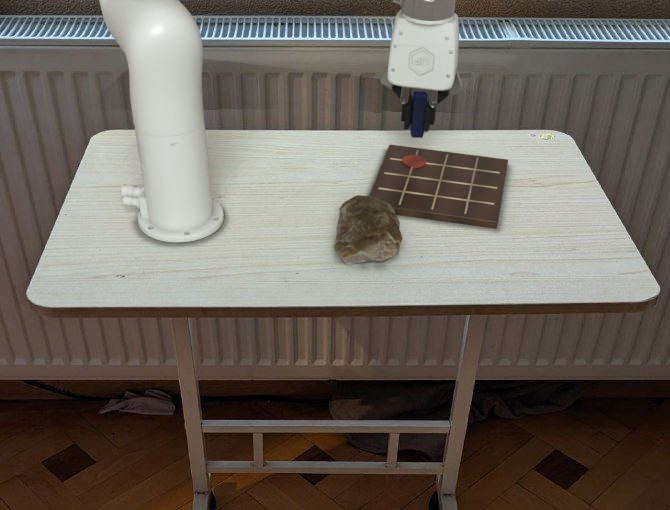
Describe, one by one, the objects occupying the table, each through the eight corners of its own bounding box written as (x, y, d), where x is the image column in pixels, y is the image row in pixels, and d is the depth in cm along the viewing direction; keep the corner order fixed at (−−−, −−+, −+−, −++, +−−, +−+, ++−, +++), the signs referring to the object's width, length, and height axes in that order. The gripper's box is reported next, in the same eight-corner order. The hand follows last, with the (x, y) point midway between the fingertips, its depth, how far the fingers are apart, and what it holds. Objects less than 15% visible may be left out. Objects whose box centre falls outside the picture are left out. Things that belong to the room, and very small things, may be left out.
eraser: (409, 131, 134) (413, 90, 129) (423, 132, 134) (427, 90, 129) (410, 137, 132) (413, 96, 127) (424, 138, 132) (428, 96, 127)
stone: (326, 212, 123) (361, 174, 118) (366, 240, 126) (401, 204, 122) (330, 263, 114) (368, 223, 110) (373, 291, 117) (412, 253, 113)
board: (365, 210, 127) (366, 202, 126) (389, 150, 141) (389, 143, 140) (496, 229, 124) (498, 220, 123) (507, 166, 138) (508, 158, 137)
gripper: (368, 8, 118) (362, 131, 130) (482, 19, 115) (465, 143, 128) (378, -9, 123) (372, 110, 136) (487, 2, 121) (470, 122, 133)
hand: (417, 125), depth 132 cm, fingers closed on eraser, 2 cm apart
